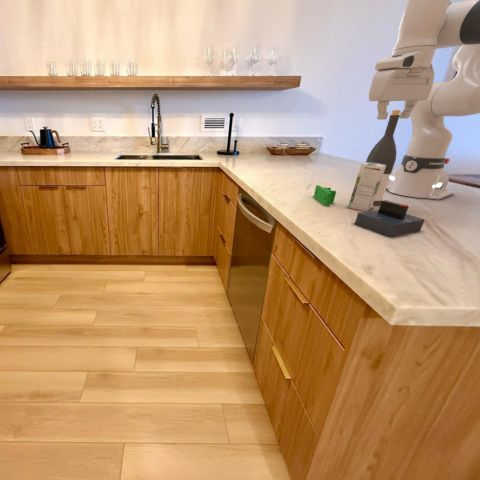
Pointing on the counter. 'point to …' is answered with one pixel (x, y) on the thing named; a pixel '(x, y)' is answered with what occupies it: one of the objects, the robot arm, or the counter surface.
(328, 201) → the pipe clamp
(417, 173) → the robot arm
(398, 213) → the black small block
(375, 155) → the wine bottle
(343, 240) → the counter surface
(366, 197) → the syrup box
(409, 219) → the block
